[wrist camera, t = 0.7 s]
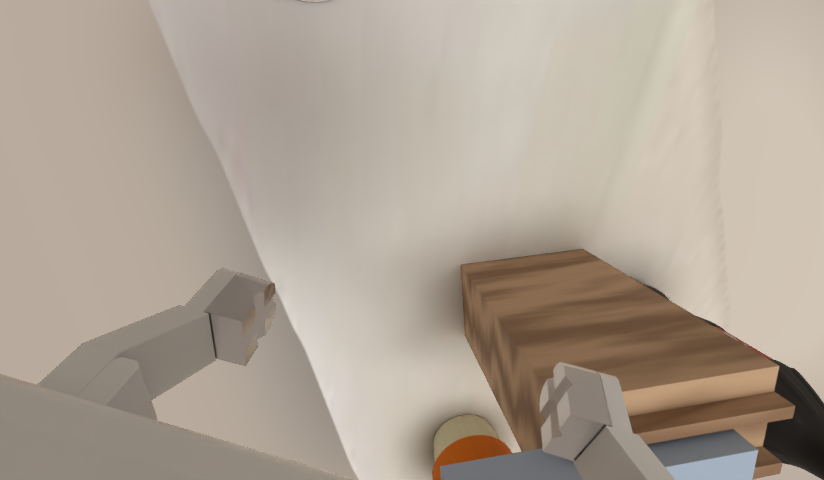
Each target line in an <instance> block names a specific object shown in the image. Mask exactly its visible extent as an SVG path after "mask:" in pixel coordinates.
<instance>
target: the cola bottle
mask: <svg viewBox="0 0 824 480" xmlns="http://www.w3.org/2000/svg"><path fill="white" fill-rule="evenodd" d="M643 285H644V284H643ZM644 286H646V287H648V288H649V289H651V290H653V291H654V292H656V293H658V294H660V295H661V296H663V297H665V298H666V299H668V298H667V297H666V296H665V295H664V294H663V293H662V292H660V291H659V290H657V289H655V288H653V287H651V286H648V285H644ZM668 300H669V299H668ZM696 317H697V316H696ZM698 318H700V317H698ZM700 319H702V320H703V321H705V322H707V323H708V324H710V325H712V326H713V327H715V328H717V329H718V330H720V331H722V332H723V333H725V334H727V335H728V336H730V337H732V338H733V339H735V340H737V341H739V342H740V343H742V344H744V345H745V346H747V347H749V348H750V349H752V350H754V351H755V352H757V353H759V354H760V355H762V356H764V357H765V358H767V359H769V360H770V361H772V362H774V363H775V364H777V365H779V370H778V375H777V380H776V385H775V390H774V392H776V393H777V394H779V395H780V396H782V397H783V398H785V399H786V400H788V401H789V402H791V403H792V404H794V405H795V410H794V415H793V418H791V419H785V420H779V421H774V422H768V423H767V428H766V433H765V438H764V442H763V447H764V448H765V449H767V450H768V451H769V452H770V453H771V454H773V455H774V456H775V457H776V458H778V459H779V460H780V461H781V462H782V463H785V464H790V465H794V466H797V467H800V468H802V469H804V470H806V471H808V472H810V473H812V474H814V475H815V476H817V477H819V478H821V479H822V480H824V403H823V402H822V400H821V399H820V398H819V396H818V395H817V394H816V392H815V391H814V390H813V388H812V387H811V386H810V385H809V384H808V382H807V381H806V380H805V379H804V378H803V377H802V375H801V374H800V373H799V372H798V371H797V370H795V369H794V368H790V367H788V366H786V365H785V364H783V363H781V362H779V361H776V360H773V359H772V358H770V357H768V356H766V355H765V354H763V353H761V352H760V351H758V350H756V349H755V348H753V347H751V346H749V345H748V344H746V343H744V342H742V341H741V340H739V339H738V338H736V337H734V336H732V335H730V334H729V333H727V332H726V331H725V330H724V329H723V328H721V327H720V326H718V325H716V324H714V323H712V322H710V321H708V320H705V319H703V318H700Z"/></svg>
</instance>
